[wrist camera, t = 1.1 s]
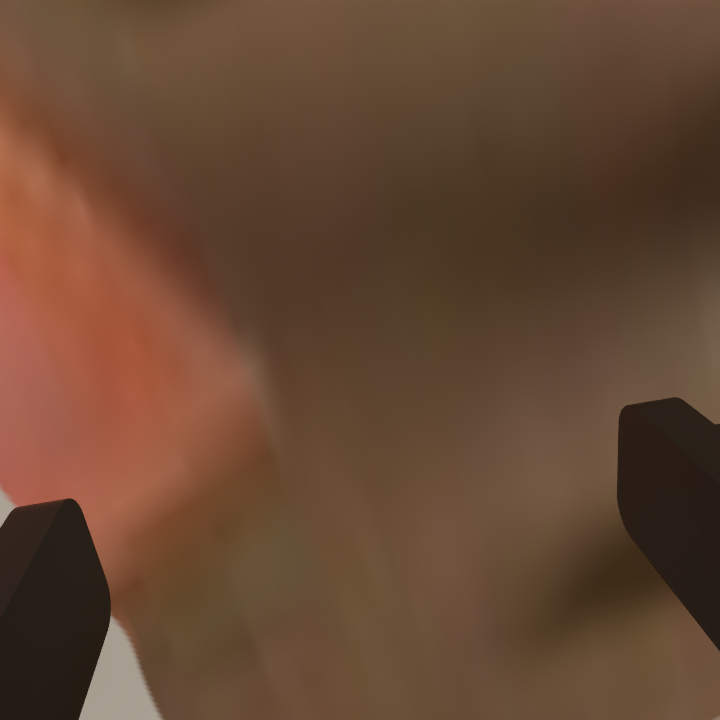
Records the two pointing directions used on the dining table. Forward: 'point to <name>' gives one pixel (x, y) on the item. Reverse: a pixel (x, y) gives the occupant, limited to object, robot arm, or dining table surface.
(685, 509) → the robot arm
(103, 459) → the dining table surface
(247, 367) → the dining table surface
